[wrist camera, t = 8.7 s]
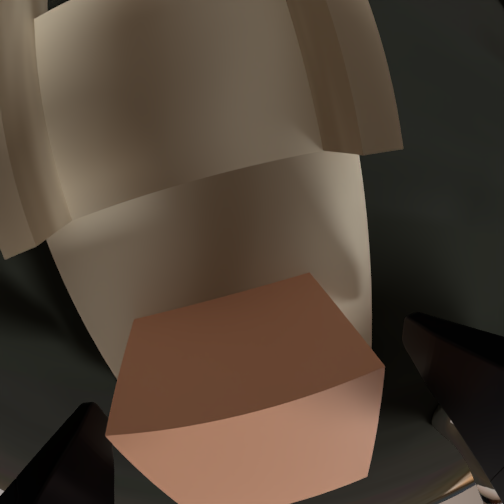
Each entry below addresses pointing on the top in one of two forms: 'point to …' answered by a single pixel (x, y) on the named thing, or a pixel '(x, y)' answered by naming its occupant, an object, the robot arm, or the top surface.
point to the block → (248, 397)
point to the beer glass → (465, 455)
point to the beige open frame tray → (191, 150)
